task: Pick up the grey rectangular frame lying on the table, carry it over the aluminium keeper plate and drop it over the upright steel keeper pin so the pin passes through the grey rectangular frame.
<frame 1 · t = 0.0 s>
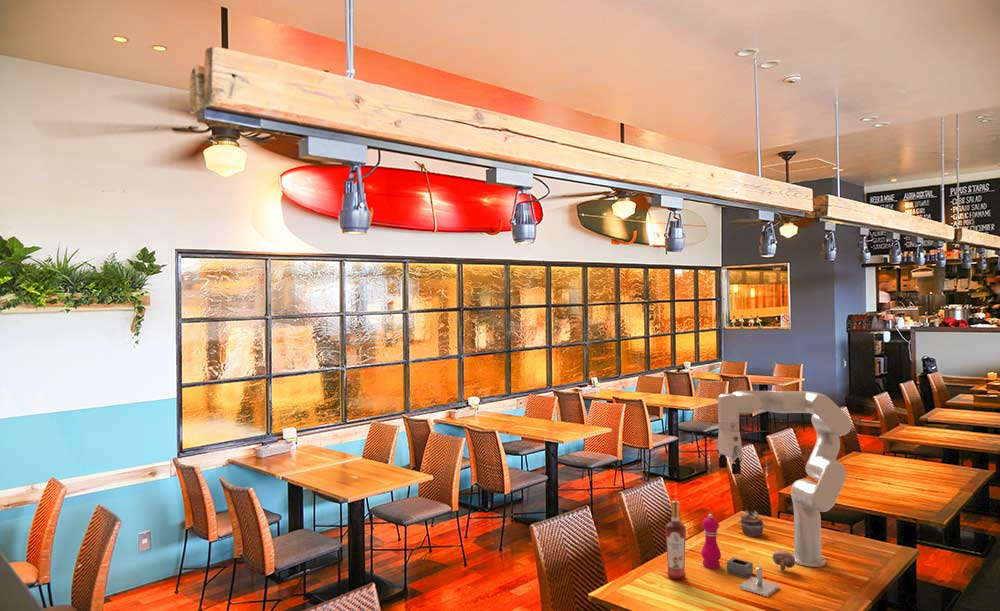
hand: (729, 470, 246), 37 cm above the table, tool pointing down, fingers open, 9 cm apart
cupcake: (752, 534, 282), on the table
liquor: (676, 577, 238), on the table
keeper: (759, 588, 227), on the table
grey rectangular frame: (739, 572, 241), on the table
mushroom: (783, 571, 242), on the table
pepper mill: (711, 566, 248), on the table
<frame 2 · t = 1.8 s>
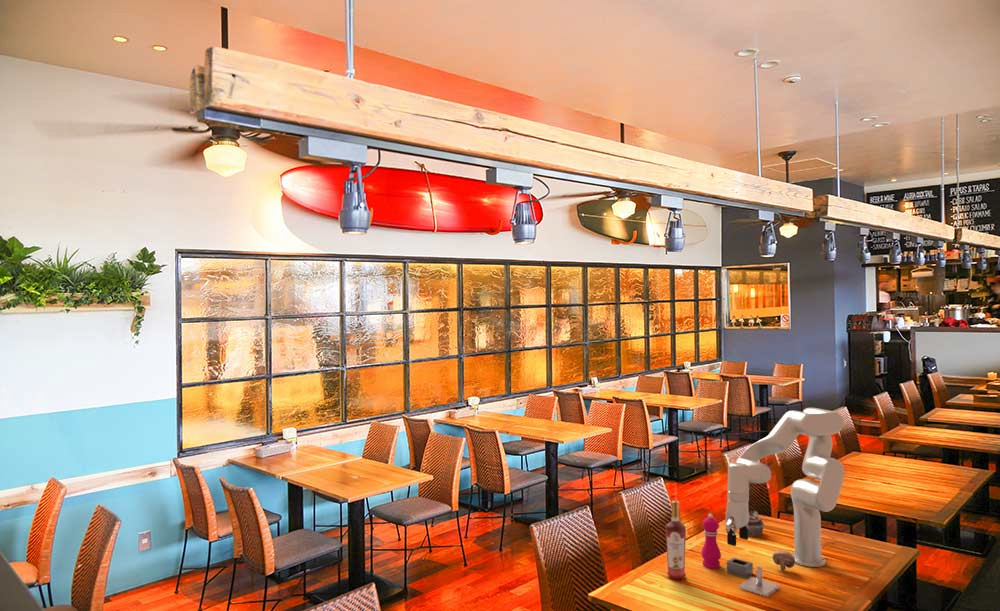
hand: (737, 541, 241), 12 cm above the table, tool pointing down, fingers open, 9 cm apart
nothing on the table moved.
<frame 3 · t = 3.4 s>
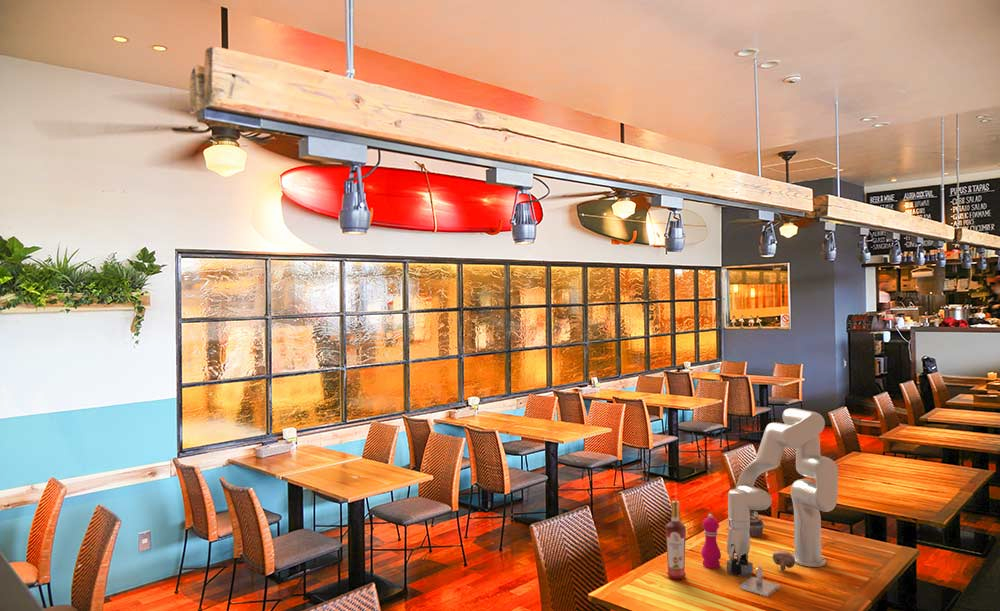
hand: (739, 570, 241), 1 cm above the table, tool pointing down, fingers closed on grey rectangular frame, 5 cm apart
grey rectangular frame: (739, 572, 241), on the table, touching gripper
everything else where it was.
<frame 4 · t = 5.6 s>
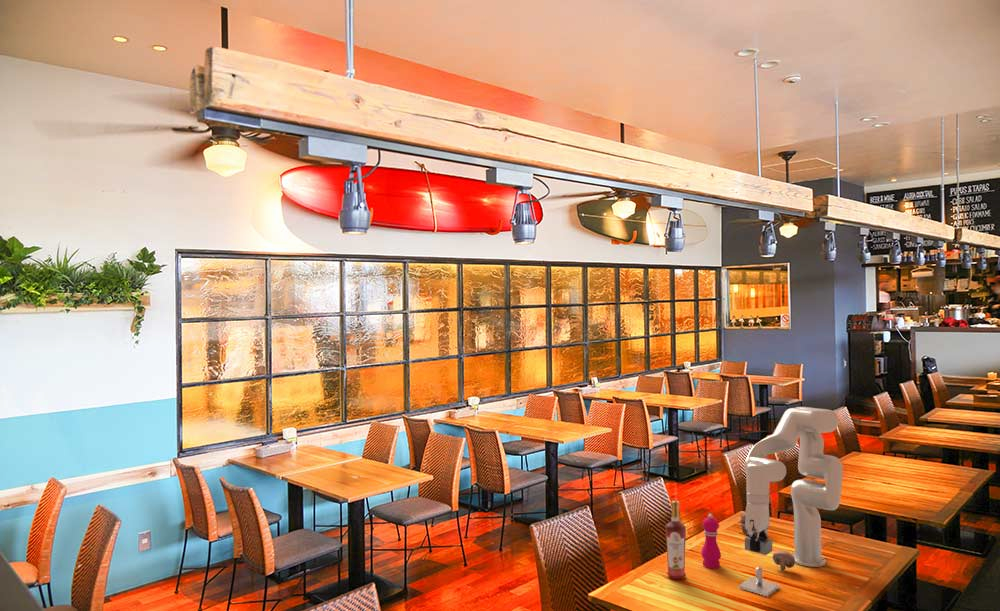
hand: (758, 548, 228), 14 cm above the table, tool pointing down, fingers closed on grey rectangular frame, 5 cm apart
grey rectangular frame: (758, 550, 228), point 13 cm above the table, touching gripper
everything else where it was.
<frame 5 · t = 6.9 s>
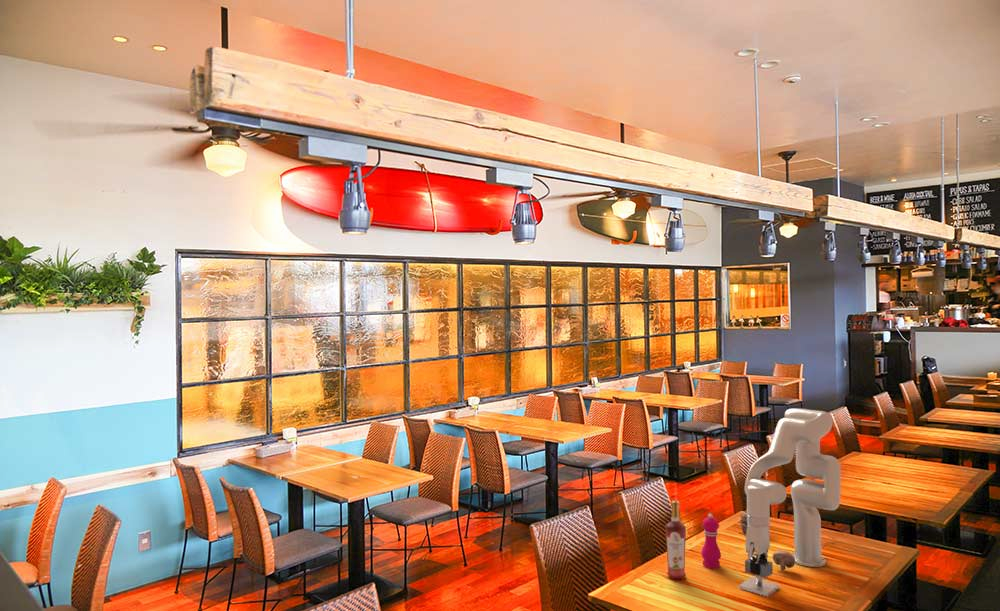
hand: (758, 570, 227), 6 cm above the table, tool pointing down, fingers closed on grey rectangular frame, 5 cm apart
grey rectangular frame: (758, 572, 227), point 6 cm above the table, touching gripper
everything else where it was.
when the fingers open (4 cm above the table, at t = 7.8 s): grey rectangular frame drops 2 cm, resting on keeper.
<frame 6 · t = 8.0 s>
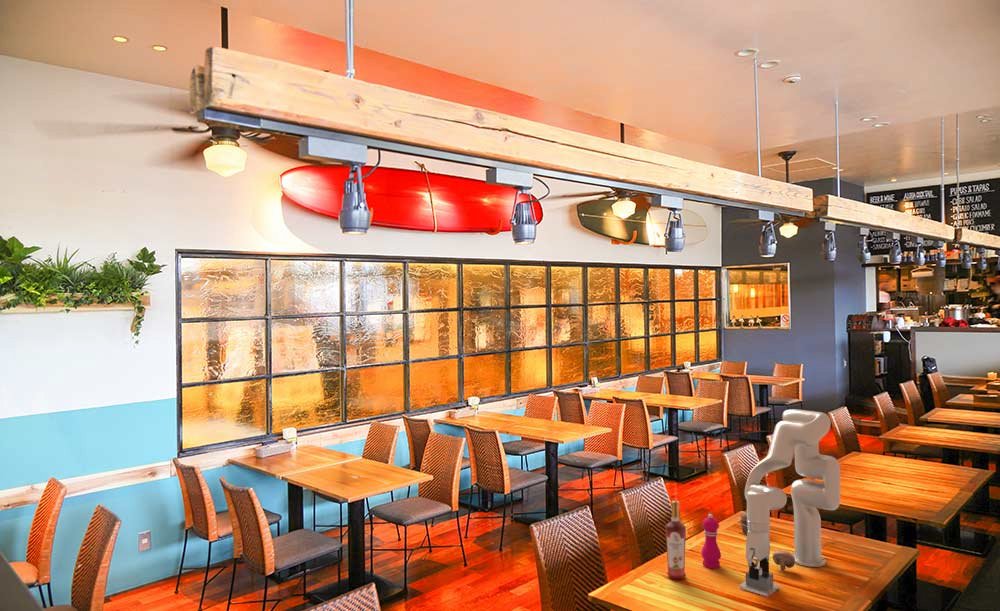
hand: (759, 575, 227), 5 cm above the table, tool pointing down, fingers open, 7 cm apart
grey rectangular frame: (759, 584, 228), point 1 cm above the table, touching keeper
everything else where it was.
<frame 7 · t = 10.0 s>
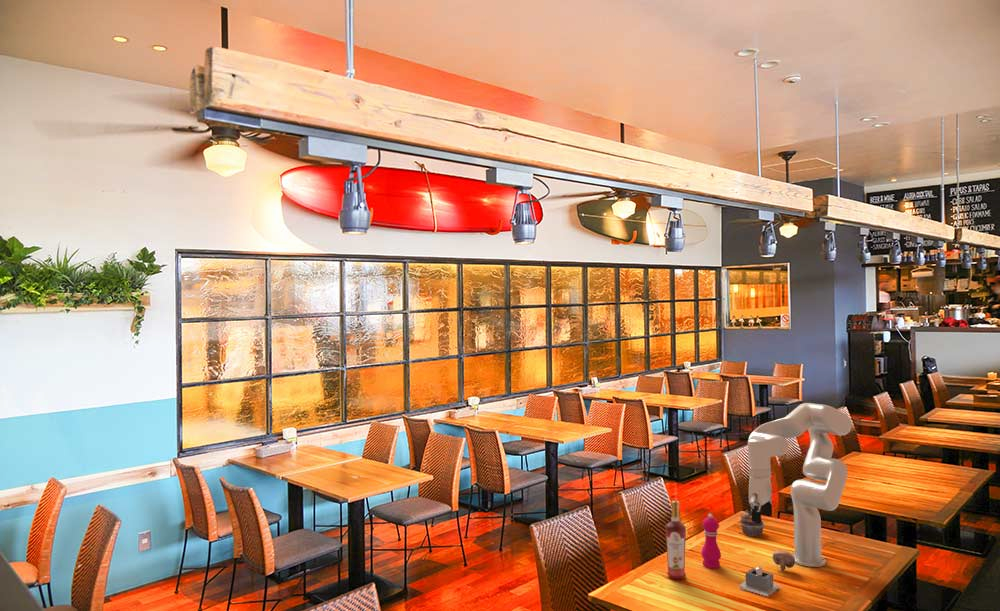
hand: (762, 518, 235), 22 cm above the table, tool pointing down, fingers open, 9 cm apart
nothing on the table moved.
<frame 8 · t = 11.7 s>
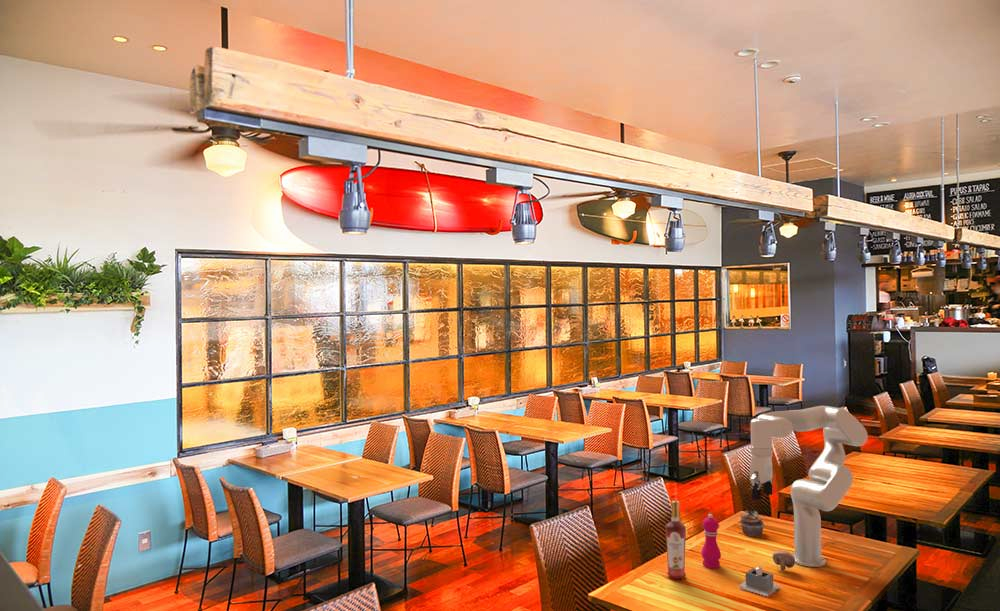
hand: (762, 496, 242), 28 cm above the table, tool pointing down, fingers open, 9 cm apart
nothing on the table moved.
at the end: grey rectangular frame 0.2 cm off-centre on the keeper, point 1.2 cm above the keeper's base; the gripper is holding nothing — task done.
